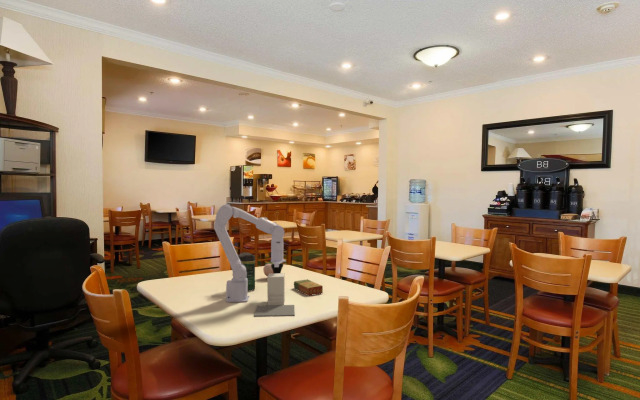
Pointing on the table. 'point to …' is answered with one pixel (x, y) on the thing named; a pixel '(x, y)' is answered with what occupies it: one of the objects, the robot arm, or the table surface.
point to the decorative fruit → (268, 269)
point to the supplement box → (276, 288)
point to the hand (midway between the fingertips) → (277, 279)
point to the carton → (308, 287)
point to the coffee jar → (249, 268)
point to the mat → (274, 310)
